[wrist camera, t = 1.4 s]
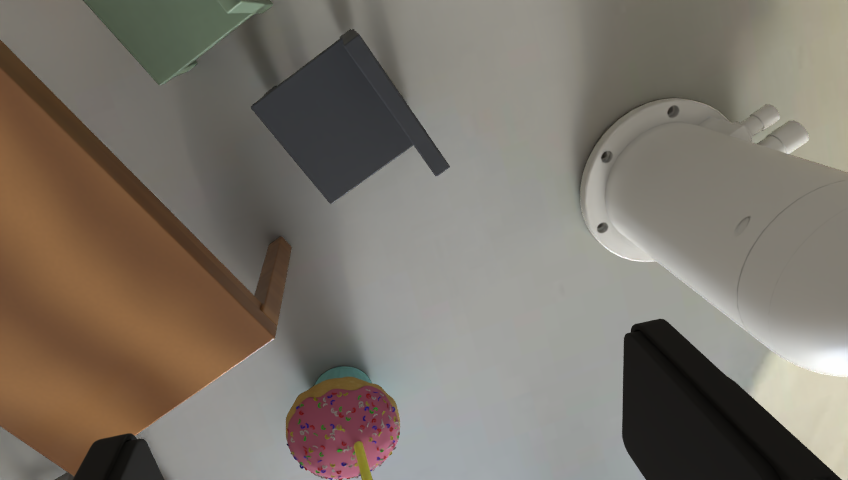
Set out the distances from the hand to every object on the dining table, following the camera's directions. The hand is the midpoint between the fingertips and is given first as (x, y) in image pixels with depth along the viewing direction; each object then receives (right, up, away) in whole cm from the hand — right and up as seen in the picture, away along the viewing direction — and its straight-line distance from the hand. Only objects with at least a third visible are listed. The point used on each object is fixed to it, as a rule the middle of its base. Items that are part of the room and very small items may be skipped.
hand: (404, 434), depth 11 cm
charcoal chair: (-5, +13, +25) cm, 29 cm away
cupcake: (-6, -9, +34) cm, 36 cm away
